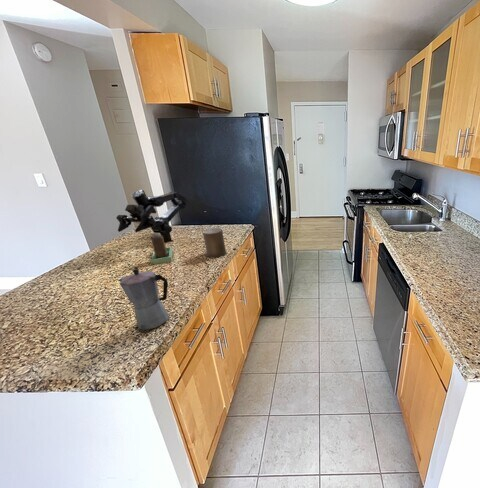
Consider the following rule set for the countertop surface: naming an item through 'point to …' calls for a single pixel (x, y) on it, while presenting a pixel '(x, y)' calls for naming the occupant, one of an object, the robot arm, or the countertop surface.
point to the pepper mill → (159, 245)
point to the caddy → (162, 260)
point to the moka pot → (146, 298)
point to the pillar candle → (214, 242)
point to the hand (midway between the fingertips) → (127, 231)
